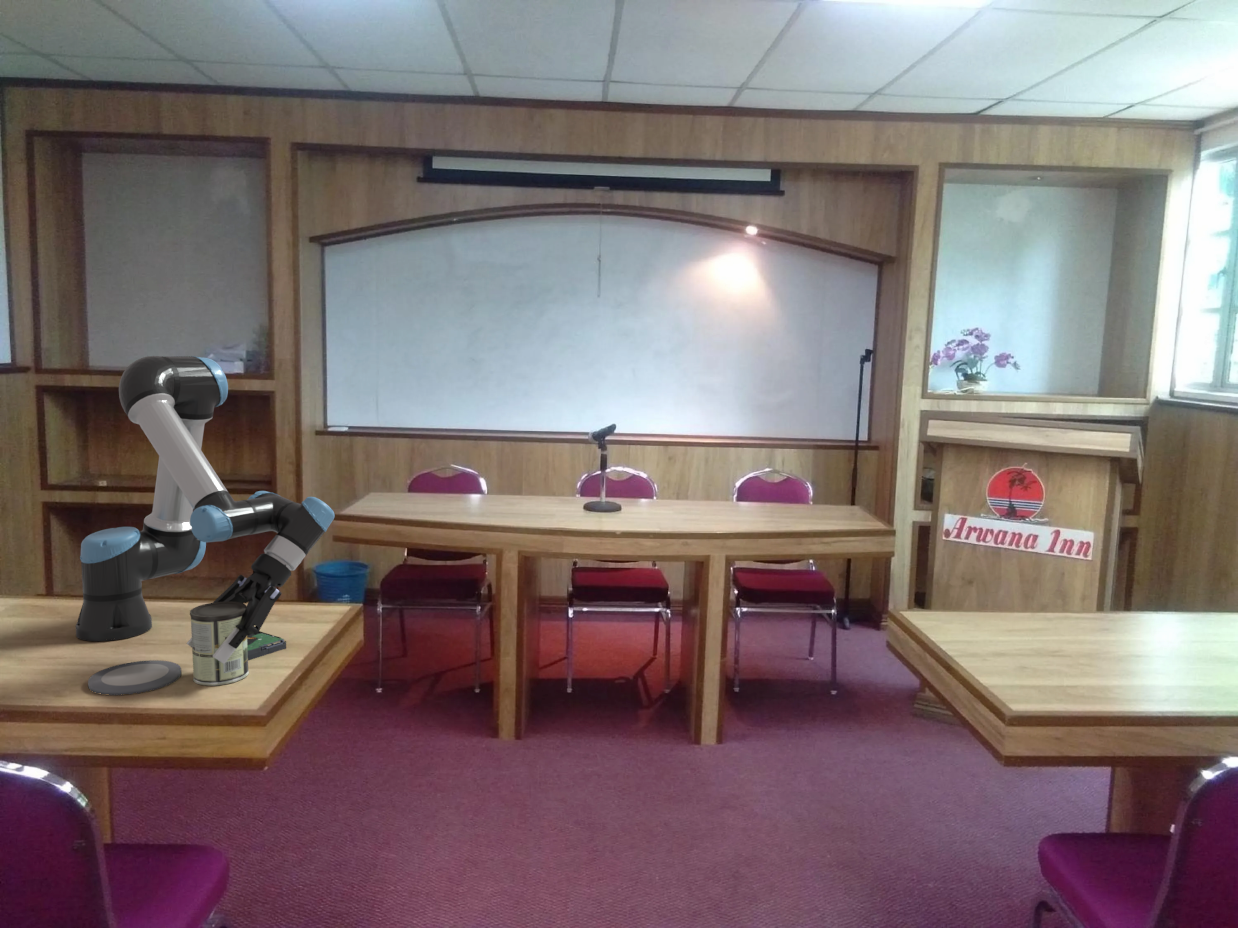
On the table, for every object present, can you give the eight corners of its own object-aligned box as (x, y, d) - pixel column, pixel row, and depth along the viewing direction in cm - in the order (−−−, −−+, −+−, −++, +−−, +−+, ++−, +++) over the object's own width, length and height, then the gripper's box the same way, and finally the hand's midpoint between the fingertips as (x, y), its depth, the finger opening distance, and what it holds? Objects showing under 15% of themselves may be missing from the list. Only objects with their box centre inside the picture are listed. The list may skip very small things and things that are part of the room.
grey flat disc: (67, 691, 161) (67, 685, 161) (128, 662, 177) (128, 657, 177) (144, 698, 159) (143, 692, 159) (198, 668, 175) (198, 663, 174)
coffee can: (216, 664, 177) (214, 599, 175) (259, 670, 174) (257, 603, 173) (180, 682, 167) (177, 613, 165) (226, 688, 164) (223, 618, 163)
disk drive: (203, 650, 187) (246, 663, 179) (203, 638, 186) (245, 650, 179) (245, 638, 196) (287, 649, 188) (245, 626, 195) (287, 637, 188)
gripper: (319, 582, 173) (247, 677, 163) (262, 563, 187) (192, 649, 177) (295, 561, 169) (219, 657, 158) (237, 543, 183) (164, 631, 172)
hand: (205, 653), depth 168 cm, fingers closed on coffee can, 10 cm apart
